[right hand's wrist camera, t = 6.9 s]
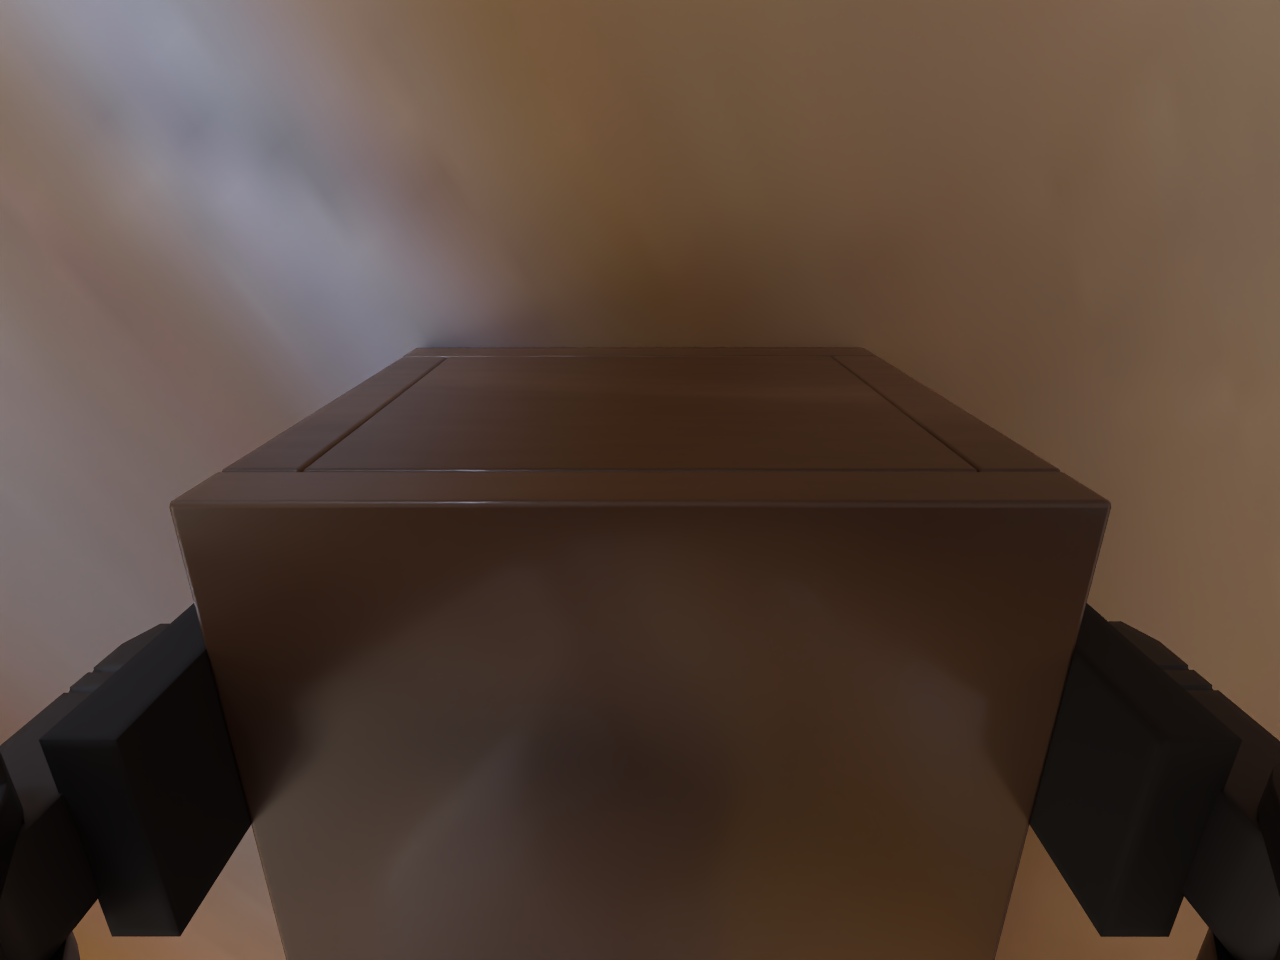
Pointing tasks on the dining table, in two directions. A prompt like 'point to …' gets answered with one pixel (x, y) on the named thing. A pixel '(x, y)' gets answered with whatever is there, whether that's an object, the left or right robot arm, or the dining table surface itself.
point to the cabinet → (640, 657)
